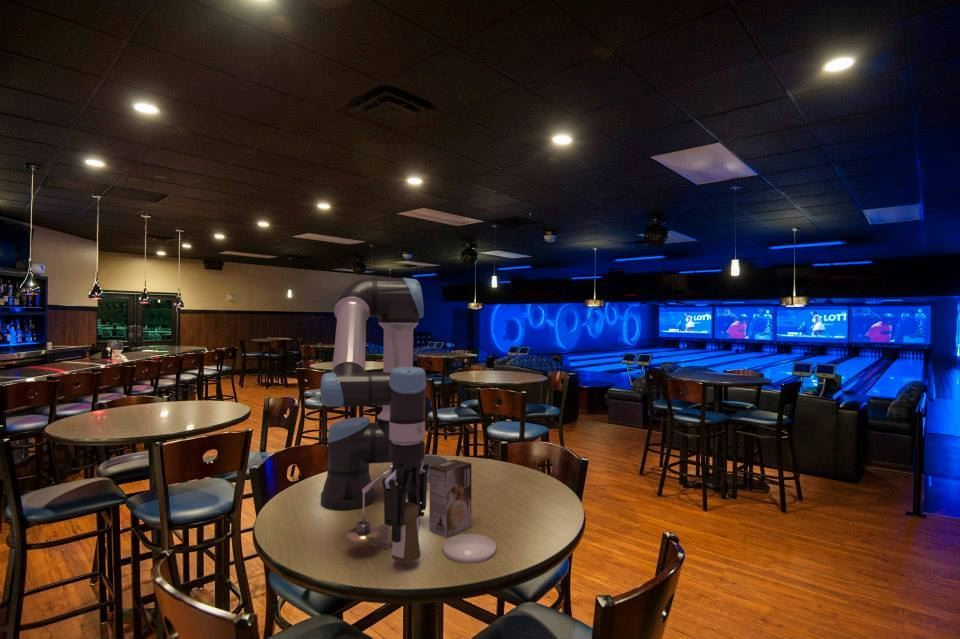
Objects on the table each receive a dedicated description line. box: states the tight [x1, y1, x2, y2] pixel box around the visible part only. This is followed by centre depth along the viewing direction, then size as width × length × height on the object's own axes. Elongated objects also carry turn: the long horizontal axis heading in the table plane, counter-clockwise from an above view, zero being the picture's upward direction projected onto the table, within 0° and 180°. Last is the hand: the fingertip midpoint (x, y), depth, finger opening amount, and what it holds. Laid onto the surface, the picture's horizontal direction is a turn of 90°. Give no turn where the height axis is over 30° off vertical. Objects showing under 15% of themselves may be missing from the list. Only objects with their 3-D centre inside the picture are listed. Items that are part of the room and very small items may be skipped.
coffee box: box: [428, 459, 473, 538], centre depth 124 cm, size 9×6×16 cm
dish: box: [442, 533, 497, 564], centre depth 112 cm, size 12×12×1 cm
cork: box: [391, 501, 421, 564], centre depth 105 cm, size 6×6×11 cm
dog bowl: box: [421, 453, 450, 484], centre depth 168 cm, size 17×18×5 cm
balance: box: [346, 463, 430, 551], centre depth 119 cm, size 8×26×19 cm, turn 151°
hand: (405, 550), depth 105 cm, fingers closed on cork, 4 cm apart
